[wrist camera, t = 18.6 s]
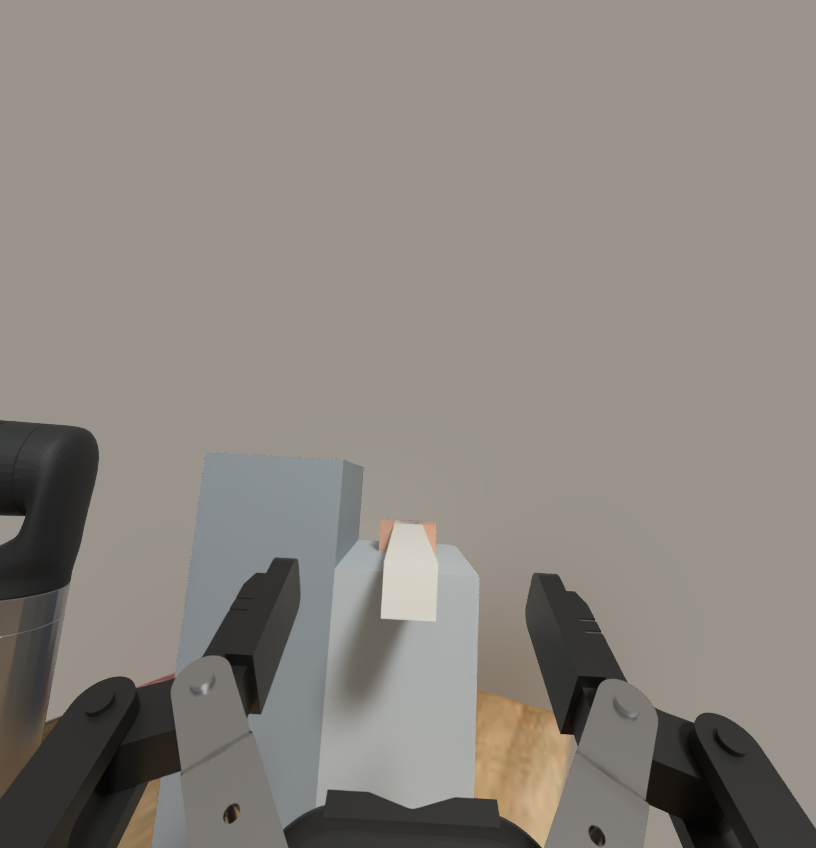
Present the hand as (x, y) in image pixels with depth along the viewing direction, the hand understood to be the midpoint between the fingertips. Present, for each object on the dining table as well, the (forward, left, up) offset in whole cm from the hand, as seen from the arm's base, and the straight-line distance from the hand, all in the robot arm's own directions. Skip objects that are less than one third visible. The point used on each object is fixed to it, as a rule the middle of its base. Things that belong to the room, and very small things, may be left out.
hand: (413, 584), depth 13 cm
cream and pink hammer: (-18, +10, -4) cm, 21 cm away
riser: (-27, +9, -26) cm, 38 cm away
